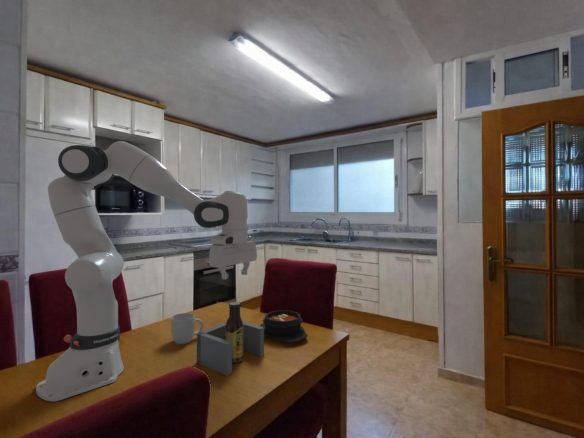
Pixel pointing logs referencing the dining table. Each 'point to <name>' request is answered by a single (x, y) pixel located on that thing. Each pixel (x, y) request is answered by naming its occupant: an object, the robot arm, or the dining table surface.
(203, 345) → the folding screen
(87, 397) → the dining table surface
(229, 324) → the sauce bottle
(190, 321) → the mug
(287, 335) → the casserole
